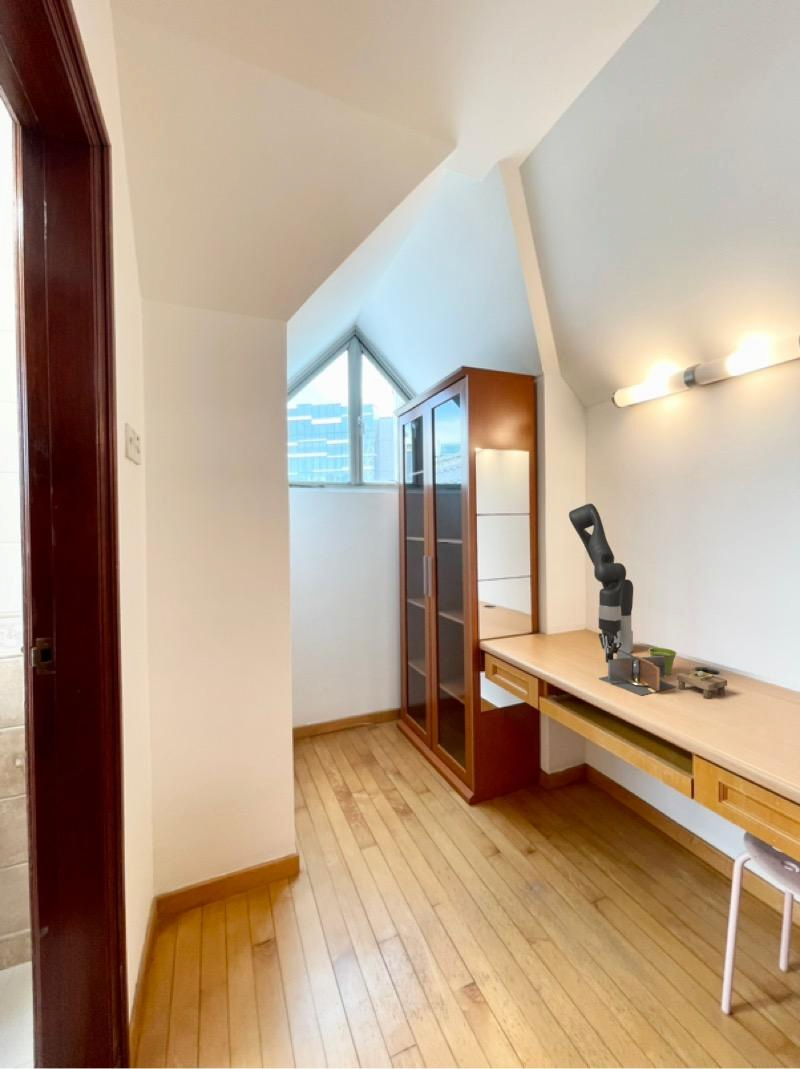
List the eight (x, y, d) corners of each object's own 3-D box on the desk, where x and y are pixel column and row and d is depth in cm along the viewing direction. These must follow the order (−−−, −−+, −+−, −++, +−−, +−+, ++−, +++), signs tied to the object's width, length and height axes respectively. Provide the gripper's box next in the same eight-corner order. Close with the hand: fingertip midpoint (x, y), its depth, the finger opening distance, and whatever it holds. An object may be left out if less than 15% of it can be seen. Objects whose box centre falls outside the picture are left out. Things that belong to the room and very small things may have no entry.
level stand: (694, 683, 160) (694, 664, 160) (727, 694, 150) (727, 673, 150) (676, 688, 156) (676, 668, 156) (708, 699, 146) (708, 678, 146)
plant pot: (681, 677, 167) (681, 654, 166) (656, 677, 167) (656, 654, 167) (668, 669, 176) (668, 647, 176) (644, 668, 177) (644, 647, 176)
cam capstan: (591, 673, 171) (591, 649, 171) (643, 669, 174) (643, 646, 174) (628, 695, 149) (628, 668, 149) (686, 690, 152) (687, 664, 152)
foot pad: (632, 671, 174) (632, 669, 173) (678, 687, 156) (678, 685, 156) (598, 678, 166) (598, 676, 166) (642, 696, 149) (642, 694, 149)
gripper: (591, 612, 168) (591, 656, 169) (608, 621, 155) (608, 669, 156) (610, 612, 168) (610, 656, 169) (629, 621, 155) (629, 669, 156)
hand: (609, 662), depth 163 cm, fingers closed
